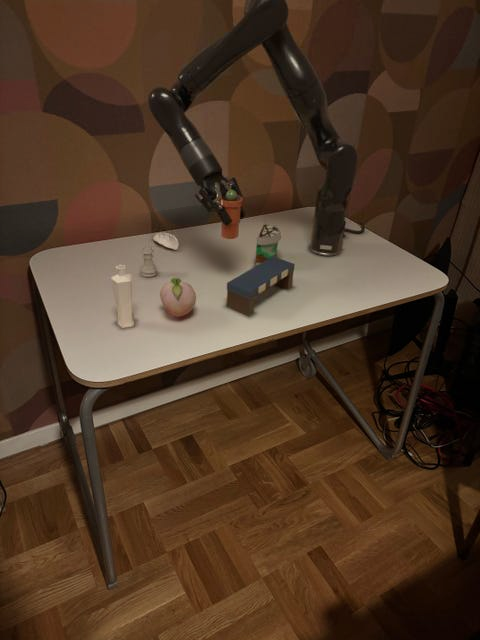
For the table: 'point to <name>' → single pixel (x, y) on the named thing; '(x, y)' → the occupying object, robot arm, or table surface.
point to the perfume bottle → (123, 296)
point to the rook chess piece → (148, 263)
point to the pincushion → (167, 240)
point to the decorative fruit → (177, 297)
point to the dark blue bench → (258, 283)
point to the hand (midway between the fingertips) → (236, 220)
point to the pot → (231, 214)
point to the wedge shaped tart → (267, 242)
